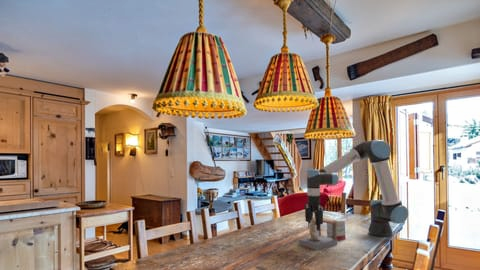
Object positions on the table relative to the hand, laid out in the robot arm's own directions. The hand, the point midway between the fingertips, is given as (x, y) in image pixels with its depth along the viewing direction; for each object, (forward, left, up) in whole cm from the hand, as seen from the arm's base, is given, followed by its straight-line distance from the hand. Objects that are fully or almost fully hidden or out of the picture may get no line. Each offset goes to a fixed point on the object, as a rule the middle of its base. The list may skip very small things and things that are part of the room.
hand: (314, 234), depth 182 cm
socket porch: (-3, 0, -6) cm, 7 cm away
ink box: (-24, -3, -6) cm, 25 cm away
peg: (0, 0, -5) cm, 5 cm away
